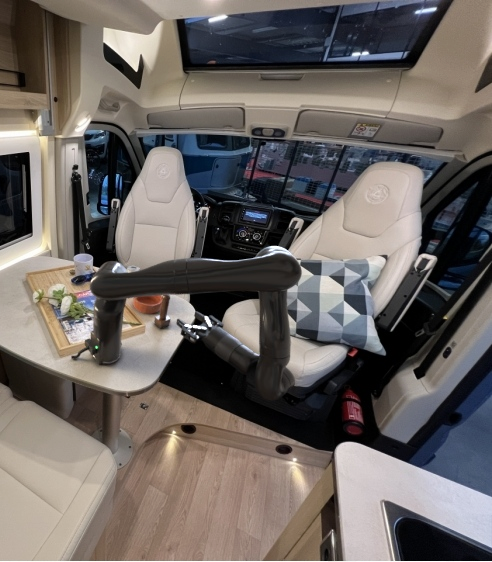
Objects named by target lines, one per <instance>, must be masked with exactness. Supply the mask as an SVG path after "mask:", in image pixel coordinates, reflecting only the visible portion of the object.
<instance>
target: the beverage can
mask: <svg viewBox="0 0 492 562" xmlns="http://www.w3.org/2000/svg"><path fill="white" fill-rule="evenodd" d="M126 270H127V272H136V271H140V270H141V268H140V266H138V265H128V266H127V268H126Z"/></svg>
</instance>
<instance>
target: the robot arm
mask: <svg viewBox="0 0 492 562" xmlns="http://www.w3.org/2000/svg"><path fill="white" fill-rule="evenodd" d="M302 275H303V270H302V266H301V264H300V262H299V260H298V259H297V258H296V256H294V255H293V254H292V253H291V252H290V251H289V250H287V249H286V248H284V247H282V246H277V245H271V246H267V247H264V248H263V249H261V250H259V252H258V253H257V254H256V255H255V257H253V258H246V259H239V260H224V259H223V260H222V259H215V258H208V257H207V258H206V257H185V258H177V259H176V258H175V259H168V260H165V261H162V262H159V263H157V264H154V265H151V266H149V267H146V268H143V269H140V271H136V272H127V268H126V267H125V266H124V265H123V264H122V263H121V262H119V261H116V260H110V261H109V260H108V261H106V262H104V263H103V264H101V266H100V267H99V268H98V269H97V270H96V272H95V273H94V274H93V275H92V277H91V279H90V282H89V291H90V292H91V294H92V295H93V297H96V298H95V301H94V304H93V317H92V318H93V321H92V322H93V323H92V325H93V327H92V330H91V331H90V338H89V337H88V338H87V339H84V346H85V347H84V348H81V349H80V350H79V351H78V352H77V354H76V355H71V357H70V358H71V359H72V360H76V359H78V358H80V356H81V355H82V354H84V352H86V351H88V352H89V353H90V355H91V356H92V358H93V359H94V360H95V361H96V363H97V364H98V365H102V364H103V365H111V364H114V363H116V362H117V361H118V360H119V359H120V358H121V354H122V353H121V351H122V350H121V348H122V345H123V344H122V335H123V324H124V312H125V307H126V304H127V299H132V298H133V299H134V297H141V296H158V295H161V296H163V295H170V296H174V295H175V296H180V295H181V296H182V295H195V294H196V295H197V294H206V293H221V292H239V291H240V292H258V300H259V325H258V326H259V327H258V352H259V353H256V352H255V351H253V350H252V349H250V348H249V347H248V346H247V345H245V344H244V343H242V341H240V340H239V339H238V338H236V337H235V336H234V335H232V334H230V333H229V332H227V330H225V329H224V326H225V324H224V323H223V322H222V321H220V320H219V319H218V318H216V317H215V316H213V315H209V316H207V315H204V314H202V313H201V312H199V311H194V315H193V316H194V318H195V319H197V320H198V321H200V322H201V324H198V325H195V324H192V325H190V324H187V323H186V322H185V321H183V320H182V319H181V318H177V319H176V326H178V327H179V328H180V329H181V331H180V336H182V337H183V338H185V339H186V340H188V341H189V342H190V343H191V344H193V345H196V344H197V342H198V341H201V342H203V344H204V345H205V347H206V348H207V349H208V350H210V351H211V352H212V353H213V354H215V355H216V356H217V357H219V358H220V359H221V360H222V361H224V362H226V363H228V365H230V366H232V368H234V369H236V370H237V371H238V372H239V373H241V374H242V375H244V376H248V375H252V374H253V385H254V389H255V391H256V393H257V394H258V395H259V396H260V397H261V398H262V399H263V400H265V401H268V402H275V401H278V400H280V399H282V397H284V396H286V394H287V393H289V392H290V391H291V390H292V389H293V388H294V387H295V385H296V379H295V378H296V377H295V376H294V374H293V372H291V371H292V370H290V369H289V368H288V367H287V366H288V365H289V363H290V361H291V343H292V342H291V341H292V340H291V328H290V327H291V326H290V320H289V311H288V290H289V289H290V290H291V289H292V288H293V287H295V286H296V285H297V284H298V283H299V282H300V280H301V278H302ZM194 331H195V332H194Z"/></svg>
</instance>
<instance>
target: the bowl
mask: <svg viewBox="0 0 492 562" xmlns="http://www.w3.org/2000/svg"><path fill="white" fill-rule="evenodd" d="M162 296H163V295H158V296H141V297H133V300H132V306H133V308H134V309H135V310H136V311H138V312H139V313H142V314H147V315H149V314H150V315H151V314H156V313H158V312H160V311H161V304H162Z"/></svg>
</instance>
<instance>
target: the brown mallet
mask: <svg viewBox="0 0 492 562" xmlns="http://www.w3.org/2000/svg"><path fill="white" fill-rule="evenodd" d="M161 296H162V304H161V310H160V311H159V315H156V316H154V321H153V322H154V325H155V326H156V327H157V328H158V329H159V330H161V329H164V328H166V327H169V326H170V324H171V320H172V319H171V317H170V316H168V311H169V306H170V305H169V304H170V301H171V295H161Z"/></svg>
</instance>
